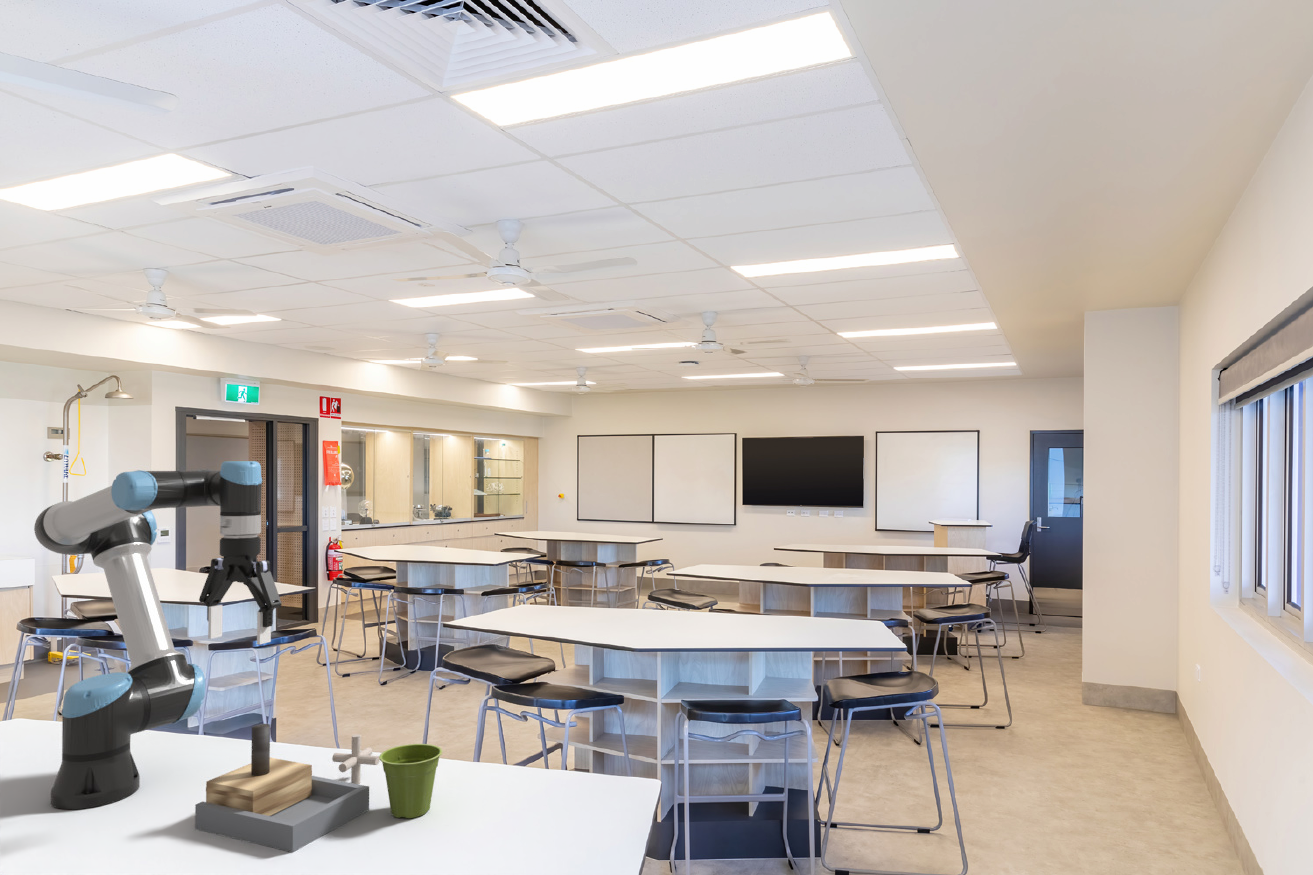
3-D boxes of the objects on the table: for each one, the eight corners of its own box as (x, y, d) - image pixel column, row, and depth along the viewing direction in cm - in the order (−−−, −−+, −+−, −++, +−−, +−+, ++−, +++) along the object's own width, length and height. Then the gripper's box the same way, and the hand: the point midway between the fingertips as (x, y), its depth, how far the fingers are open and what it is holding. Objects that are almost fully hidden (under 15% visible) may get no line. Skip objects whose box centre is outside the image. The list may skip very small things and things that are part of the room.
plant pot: (454, 806, 164) (455, 748, 164) (410, 829, 153) (411, 768, 154) (410, 794, 169) (410, 739, 170) (365, 816, 159) (365, 757, 159)
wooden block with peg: (205, 813, 156) (206, 733, 156) (266, 786, 169) (267, 712, 170) (252, 824, 151) (253, 741, 152) (311, 795, 164) (312, 719, 165)
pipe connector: (364, 794, 169) (364, 745, 170) (320, 790, 171) (321, 741, 172) (389, 775, 179) (389, 729, 180) (347, 772, 181) (348, 726, 182)
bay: (195, 828, 154) (195, 804, 154) (277, 790, 171) (277, 769, 171) (292, 852, 144) (292, 826, 145) (369, 809, 162) (369, 786, 162)
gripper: (180, 535, 171) (179, 638, 170) (270, 539, 161) (269, 649, 161) (212, 532, 178) (211, 631, 177) (300, 536, 168) (299, 641, 168)
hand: (239, 640), depth 169 cm, fingers open, 13 cm apart
